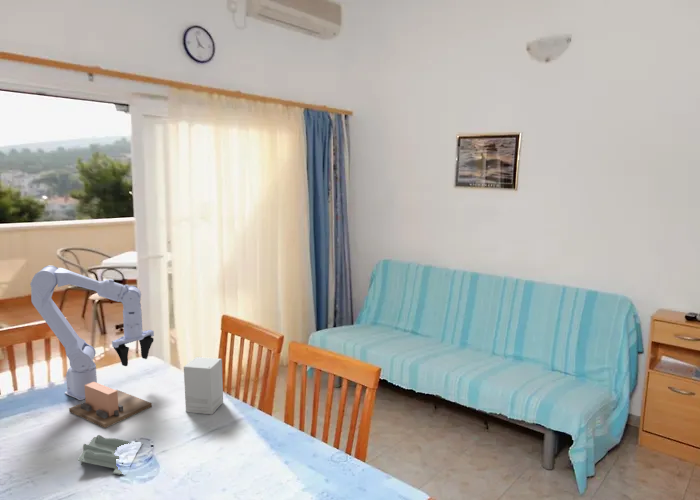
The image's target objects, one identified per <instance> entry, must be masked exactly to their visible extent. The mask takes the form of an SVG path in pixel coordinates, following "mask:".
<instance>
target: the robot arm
mask: <svg viewBox="0 0 700 500" xmlns="http://www.w3.org/2000/svg"><path fill="white" fill-rule="evenodd" d="M29 284H30V288H31V291H30V292H31V295H30V296H31V297H30V298H31V304H32V305H33V306H34V308H35V309H36V311H37V312H38V314H39V315H40V316H41V318H42V319H43V321H44V322H45V323H46V324H47V325H48V327H49V328H50V330H51V331H52V332H53V334H54V335H55V337H56V338H57V339H58V340H59V342H60V343H61V344H62V346H63V347H64V350H65V354H66V357H67V359H68V361H69V368H68V369H67V371H66V374H65V375H66V376H65V378H66V388H67V389H66V390H67V391H64V394H65V395H67V396H70V397H71V398H74V399H77V400H79V401H83V400H85V385H86V384H88V383H91V382H96V383H98V377H97V376H98V375H97V365H96V363H95V362H94V358H95V356H96V349H95V347H94V346H92V345H90V344H89V343H87V342H86V340H85V339H84V338H82V337H80V336H79V334H78V333H77V332H76V330H75V329H74V328H73V326H72V324H71V323H70V322H69V320H68V319H67V318H66V316H65V315H64V314H63V312H62V311H61V309H60V308H59V307H58V305H57V304H56V302H54V300H53V298H52V297H53V294H54V292H55V288H56V286H57V288H59V287H60V288H61V287H63V286H68V285H71V286H76V287H80V288H83V289H87V290H91V291H95V292H96V293H97V295H98V296H99V297H101V298H105V299H109V300H110V301H114V302H118V303H119V302H120V303H121V304H122V307H123V309H122V317H123V320H122V321H123V336H121V337H119V338H117V339H114V340H112V341H111V347H112V348H113V349H114V350H115V352H116V353H117V355H118V357H119V359H120V362H121V365H122V366H124V367H128V364H129V360H128V359H129V350H130V347H128V346H127V344H129V343H133V342H136V341H138V342H139V346H140V355H141V358H142V359H143V360H147V359H148V357H149V351H150V349H151V346H152V344H153V343H154V336H155V331H154V330H152V329H148V330H143V316H142V315H143V312H142V305H141V300H142V299H141V298H142V291H141V290H140V288H139V287H137V286H135V285H129V284H121V283H119V282H115V279H112V278H109V279H103V280H100V281H99V280H97V279H94V278H91V277H89V276H86V275H83V274H80V273H78V272H74V271H72V270H69V269H67V268H63V267H57V266H55V265H46V266H44V267H42V268H41V269H40V270H39V271H38V272H36V273H35V274H34V275H33V277H32V280H31V282H30V283H29Z"/></svg>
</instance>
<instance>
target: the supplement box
mask: <svg viewBox="0 0 700 500" xmlns="http://www.w3.org/2000/svg"><path fill="white" fill-rule="evenodd" d="M183 379H184V382H183V383H184V399H185V403H184V404H185V412H186V413H192V414H193V413H194V414H205V415H213V414H214V413H215V412H216V410H217V409H219V407H220V406H221V405H222V404H224V388H223V387H224V386H223V383H224V382H223V359H222V358H217V357H202V356H201V357H200V356H196V357H194V358H193V359H192V360H190V361H189V362H187V364H185V365H184V366H183Z"/></svg>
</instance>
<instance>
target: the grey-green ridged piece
mask: <svg viewBox="0 0 700 500" xmlns="http://www.w3.org/2000/svg"><path fill="white" fill-rule="evenodd" d="M128 443H129V444H130V442H129V441H128V440H124V439H119V438H115V437H114V438H112V437H111V438H110V437H109V438H106V437H104V436H102V435H100V434H98V435H96V436H94V437H92V438H91V440H90V442H88V444H87V443H84V444H83V448H82V453H81V454H80V456H79V457H78V458H77V461H78V462H81V463H80V465H83V463H86V464H89V465H90V464H91V465H95V466H101V467H105V468H111V469H113V474H115V475H119V476H121V475H120V474H122V472H121V471H120V470H118V467H117V466H116V459H119V456H115V455H114V453H115V450H116V448H117V447H119V446H121V445H124V444H128Z"/></svg>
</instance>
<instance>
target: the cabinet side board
mask: <svg viewBox="0 0 700 500" xmlns="http://www.w3.org/2000/svg"><path fill="white" fill-rule="evenodd" d="M116 390H117V392H118V409H119V411H118V410H115V411H114V415H112V416H110V417H109V416H108V415H107V412H105V411H102V410H100V409H98V410H93V409H92V407H91V405H88V404H86V401H84V402H80V403H79V404H76V405H73V406H72V407H69V408H68V409H69V413H71V414H74V415H75V416H77V417H80V418H83V419H84V420H87V421H89V422H91V423H94V424H95V425H97V426H99V427H102V428H105V429H106V428H109V427H110V426H112V425H114V424H117V423H119V422H121V421H124V420H126V419H128V418H130V417H133V416H134V415H136V414H139V413H142V412H144V411H145V410H147V409H150V408H152V407H153V402H151V401H150V402H149V401H147V400H144V399H142V398H141V397H137V396H134V395H133V394H129V393H127V392H124V391H121V390H118V389H116Z"/></svg>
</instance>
